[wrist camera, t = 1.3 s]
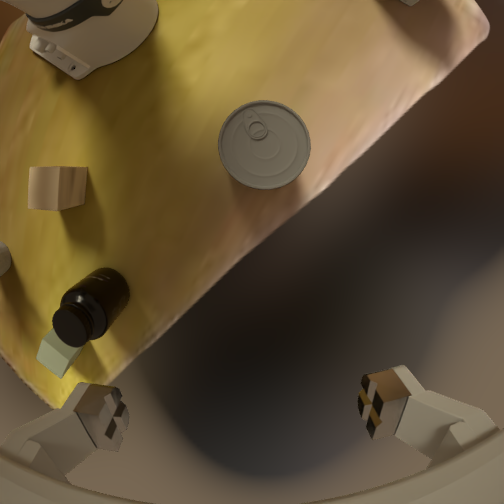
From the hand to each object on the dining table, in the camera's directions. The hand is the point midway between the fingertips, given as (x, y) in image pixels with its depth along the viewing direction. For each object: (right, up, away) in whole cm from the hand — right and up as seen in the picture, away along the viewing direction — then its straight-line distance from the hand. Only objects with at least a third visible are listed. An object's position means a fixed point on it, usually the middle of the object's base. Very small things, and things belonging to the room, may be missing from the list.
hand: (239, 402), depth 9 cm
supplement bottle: (-20, 0, +29) cm, 35 cm away
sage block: (-29, -9, +31) cm, 43 cm away
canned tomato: (+1, +17, +26) cm, 31 cm away
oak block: (-24, +14, +25) cm, 37 cm away
